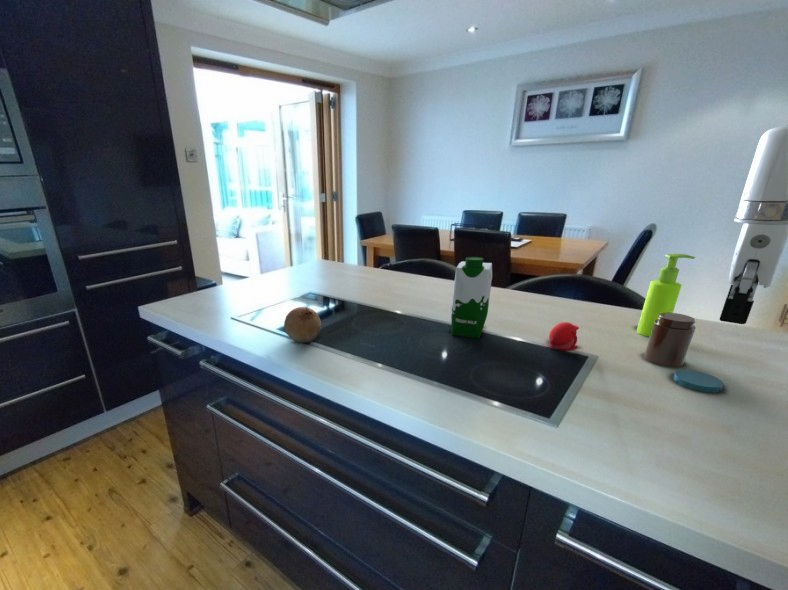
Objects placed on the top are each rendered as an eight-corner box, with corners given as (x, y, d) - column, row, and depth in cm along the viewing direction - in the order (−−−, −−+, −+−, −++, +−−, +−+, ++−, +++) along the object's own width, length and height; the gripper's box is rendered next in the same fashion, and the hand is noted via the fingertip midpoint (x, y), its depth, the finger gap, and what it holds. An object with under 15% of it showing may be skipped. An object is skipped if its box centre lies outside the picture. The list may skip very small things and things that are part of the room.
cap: (571, 356, 88) (577, 332, 85) (543, 350, 91) (547, 326, 89) (580, 345, 93) (585, 322, 91) (553, 339, 97) (557, 316, 95)
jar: (671, 358, 86) (686, 312, 82) (688, 371, 80) (706, 323, 76) (637, 355, 87) (650, 311, 83) (651, 369, 81) (666, 321, 77)
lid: (678, 374, 79) (680, 366, 78) (724, 387, 74) (727, 379, 73) (667, 385, 75) (669, 377, 74) (714, 400, 70) (718, 391, 69)
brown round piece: (314, 354, 100) (322, 326, 93) (278, 346, 99) (283, 318, 92) (319, 329, 107) (326, 302, 100) (285, 321, 106) (290, 293, 99)
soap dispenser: (675, 338, 95) (702, 256, 88) (644, 337, 96) (668, 256, 89) (661, 329, 101) (685, 252, 93) (631, 328, 102) (653, 252, 94)
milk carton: (447, 336, 101) (454, 259, 93) (453, 324, 109) (460, 252, 101) (483, 340, 97) (492, 261, 90) (486, 328, 105) (496, 254, 97)
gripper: (808, 218, 53) (763, 334, 60) (803, 207, 64) (765, 306, 71) (732, 217, 59) (699, 323, 65) (739, 207, 69) (710, 299, 76)
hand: (734, 314), depth 68 cm, fingers open, 9 cm apart
